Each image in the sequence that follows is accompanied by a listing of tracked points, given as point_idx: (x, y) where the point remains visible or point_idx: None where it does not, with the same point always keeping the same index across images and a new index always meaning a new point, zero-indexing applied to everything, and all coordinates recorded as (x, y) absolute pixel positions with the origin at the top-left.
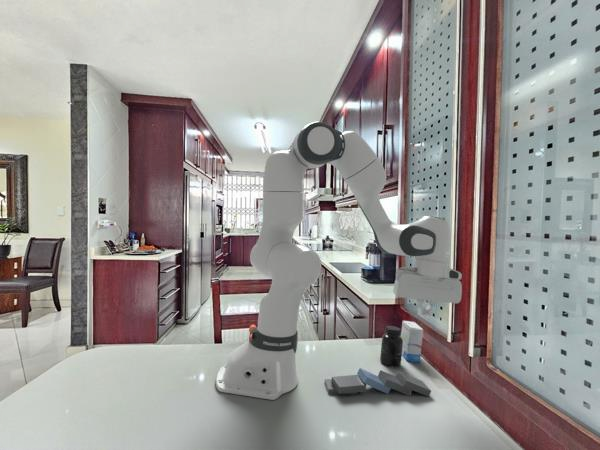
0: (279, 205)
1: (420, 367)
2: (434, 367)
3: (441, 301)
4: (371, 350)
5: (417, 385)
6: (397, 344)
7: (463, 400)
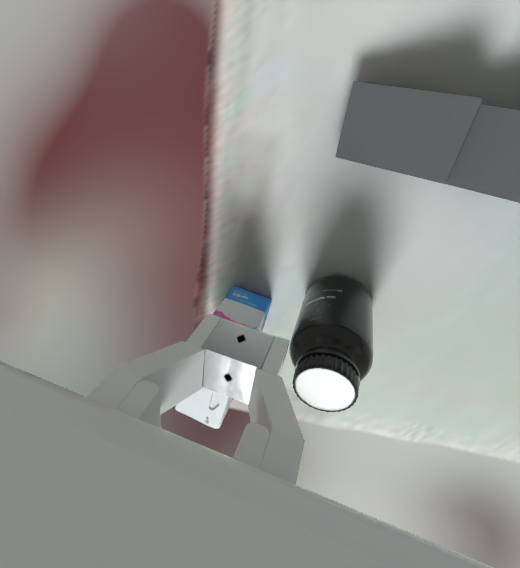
0: None
1: (251, 261)
2: (205, 253)
3: (16, 370)
4: None
5: (418, 90)
6: (337, 320)
7: (242, 48)
